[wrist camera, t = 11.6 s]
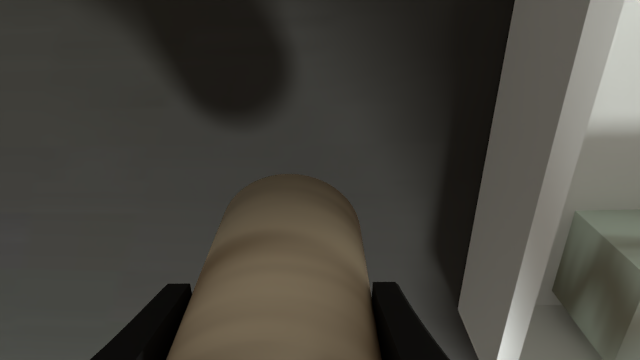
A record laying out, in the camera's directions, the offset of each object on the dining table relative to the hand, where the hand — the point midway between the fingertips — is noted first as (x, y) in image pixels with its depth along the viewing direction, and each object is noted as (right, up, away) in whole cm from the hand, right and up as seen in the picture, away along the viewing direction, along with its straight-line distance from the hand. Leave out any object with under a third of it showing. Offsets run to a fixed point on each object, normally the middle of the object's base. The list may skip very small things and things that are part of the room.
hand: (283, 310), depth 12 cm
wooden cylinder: (0, +2, +3) cm, 4 cm away
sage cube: (+16, 0, +10) cm, 19 cm away
